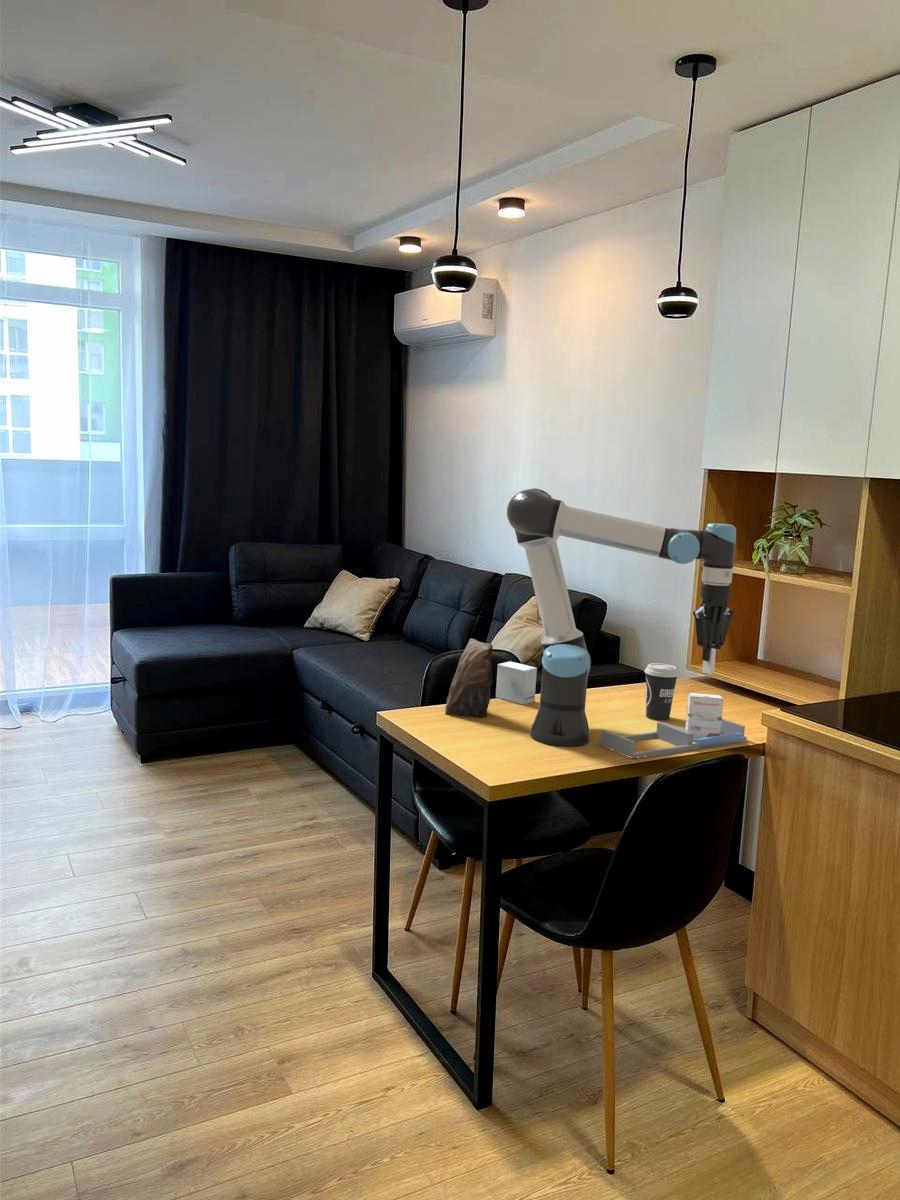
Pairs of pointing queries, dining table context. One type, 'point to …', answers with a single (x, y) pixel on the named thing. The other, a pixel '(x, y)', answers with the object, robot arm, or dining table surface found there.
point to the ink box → (704, 715)
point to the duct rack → (673, 739)
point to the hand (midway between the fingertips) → (707, 672)
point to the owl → (471, 682)
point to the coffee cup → (660, 690)
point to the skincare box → (516, 682)
